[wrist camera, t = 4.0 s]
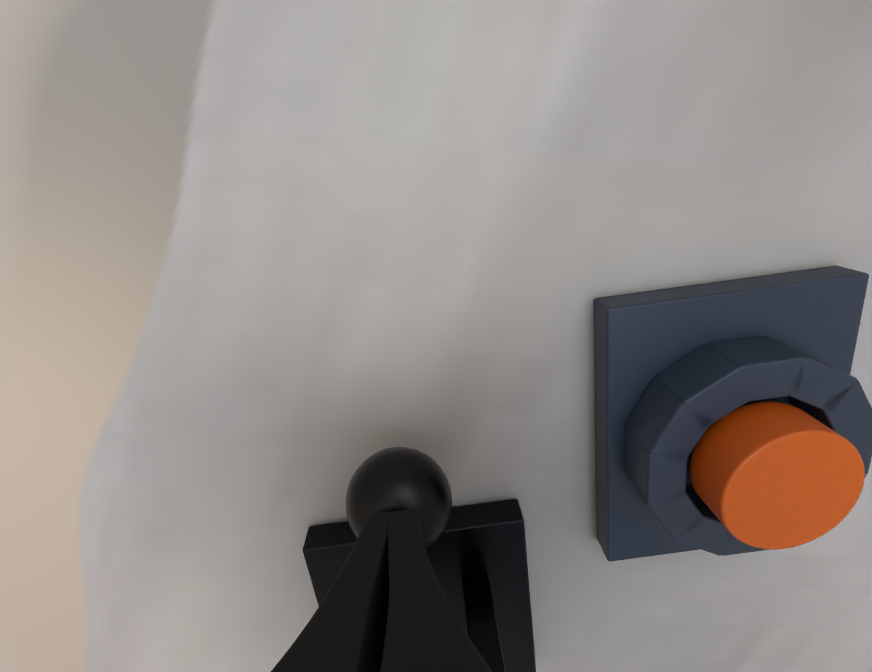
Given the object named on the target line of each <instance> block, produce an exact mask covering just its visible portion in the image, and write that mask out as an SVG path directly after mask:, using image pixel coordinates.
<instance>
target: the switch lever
mask: <svg viewBox="0 0 872 672" xmlns="http://www.w3.org/2000/svg"><path fill="white" fill-rule="evenodd" d="M451 508H452V494H451V489H450V485H449V482H448V480H447V477H446V475H445V473H444V472H443V470H442V469H441V467H440V466H439V465H438V464H437V463H436V462H435V461H434V460H433V459H432V458H431V457H429V456H428V455H426V454H424V453H422V452H420V451H418V450H415V449H411V448H406V447H394V448H388V449H385V450H382V451H379V452H377V453H375V454H374V455H372V456H371V457H369V458H368V459H367V460H366V461H364V462H363V463H362V464H361V465H360V467H359V468H358V469H357V470H356V472H355V473H354V475H353V477H352V479H351V481H350V484H349V487H348V490H347V495H346V514H347V519H348V522H349V525H350V527H351V530H352V532H353V533H354V535H355V536H356V538H358V535H359V533H360V531H361V529H362V527H363V524H364V522H365V520H366V518H367V517H368V515H369V514H377V513H384V512H392V511H399V510H407V509H415V510H417V511H418V512H419V517H420V523H421V529H422V534H423V540H424V546H425V549H426V550H427V549H429V548H430V547H431V546H432V545H434V544H435V543H436V541H437V540H438V539H439V538H440V537H441V535H442V533H443V532H444V530H445V528H446V526H447V524H448V521H449V518H450V514H451Z"/></svg>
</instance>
